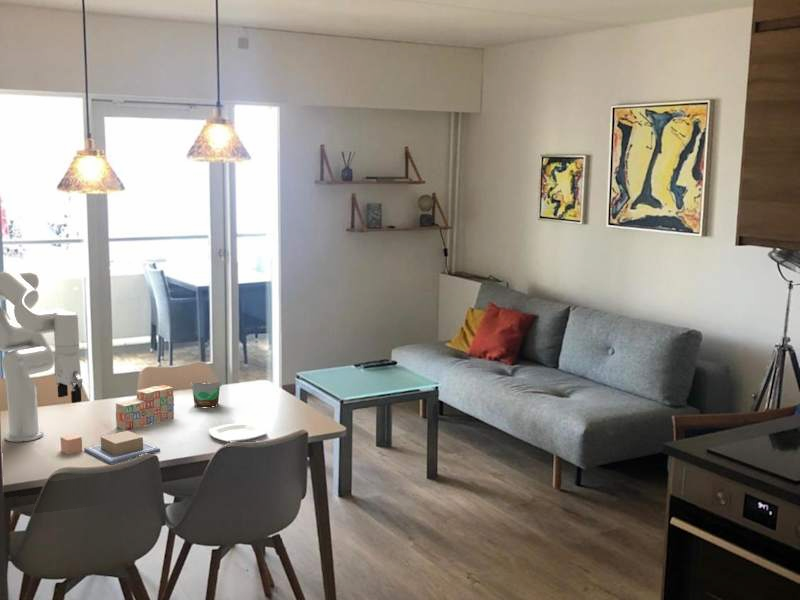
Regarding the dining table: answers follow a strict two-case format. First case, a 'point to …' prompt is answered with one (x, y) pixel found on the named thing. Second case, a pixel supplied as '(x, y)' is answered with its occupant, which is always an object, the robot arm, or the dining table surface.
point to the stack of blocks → (146, 407)
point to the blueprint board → (120, 447)
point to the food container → (206, 393)
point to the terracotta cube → (71, 444)
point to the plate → (237, 432)
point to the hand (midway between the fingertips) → (69, 399)
